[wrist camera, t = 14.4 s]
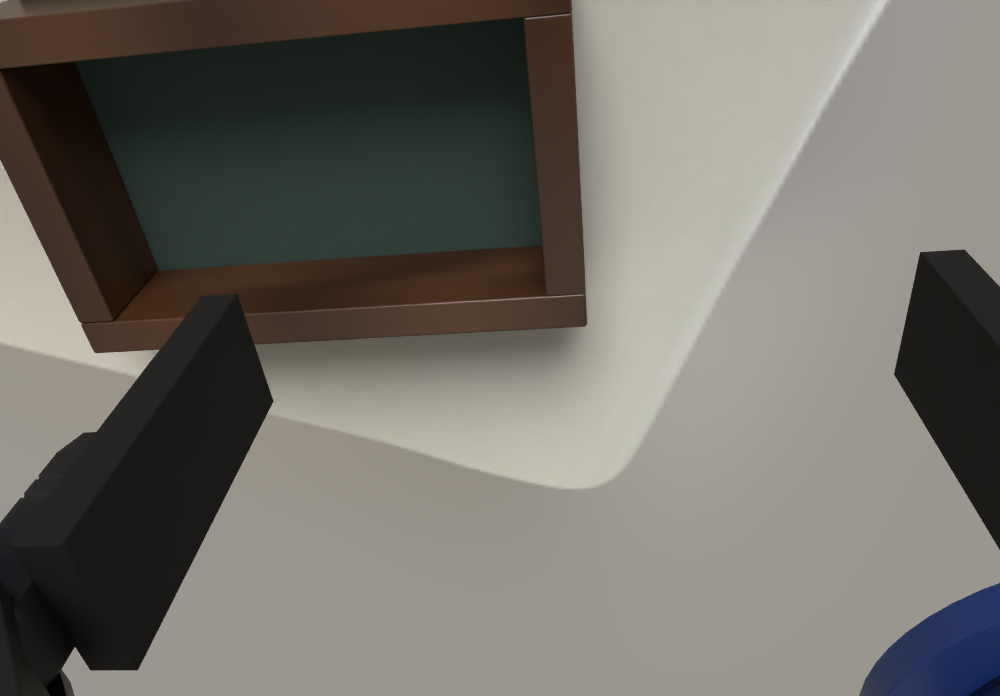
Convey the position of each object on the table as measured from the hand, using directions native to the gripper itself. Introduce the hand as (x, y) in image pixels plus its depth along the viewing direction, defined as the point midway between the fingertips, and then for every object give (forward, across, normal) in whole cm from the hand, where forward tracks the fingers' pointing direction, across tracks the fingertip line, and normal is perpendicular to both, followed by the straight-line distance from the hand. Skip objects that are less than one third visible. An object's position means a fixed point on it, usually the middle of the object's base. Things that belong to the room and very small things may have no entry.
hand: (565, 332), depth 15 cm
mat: (+11, -8, 0) cm, 14 cm away
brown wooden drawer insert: (+11, -8, +1) cm, 13 cm away
